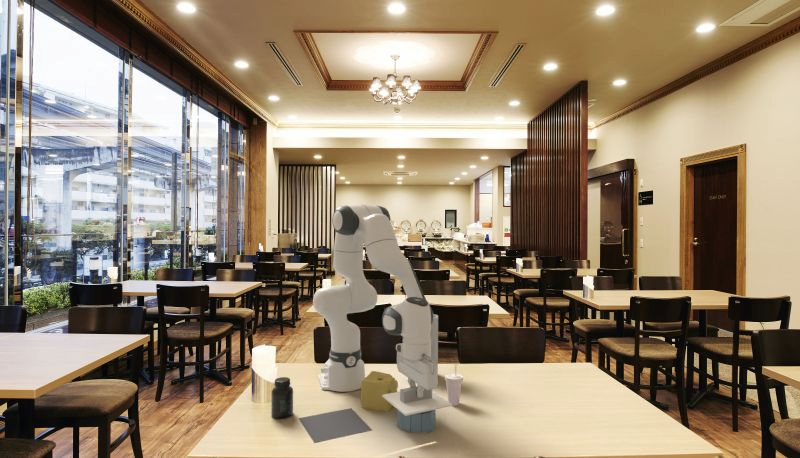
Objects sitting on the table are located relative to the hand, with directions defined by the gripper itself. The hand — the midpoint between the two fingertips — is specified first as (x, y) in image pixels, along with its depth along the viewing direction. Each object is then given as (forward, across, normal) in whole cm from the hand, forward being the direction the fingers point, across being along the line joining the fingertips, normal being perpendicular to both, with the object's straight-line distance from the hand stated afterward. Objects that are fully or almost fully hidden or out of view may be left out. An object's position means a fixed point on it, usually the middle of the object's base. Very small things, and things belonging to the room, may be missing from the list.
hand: (416, 394), depth 141 cm
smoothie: (+10, +9, -20) cm, 24 cm away
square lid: (+2, 0, 0) cm, 2 cm away
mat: (+10, +11, +23) cm, 27 cm away
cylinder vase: (+10, +38, -24) cm, 46 cm away
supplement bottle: (+10, +25, +36) cm, 45 cm away
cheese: (+10, +19, +4) cm, 22 cm away
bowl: (+10, 0, 0) cm, 10 cm away
